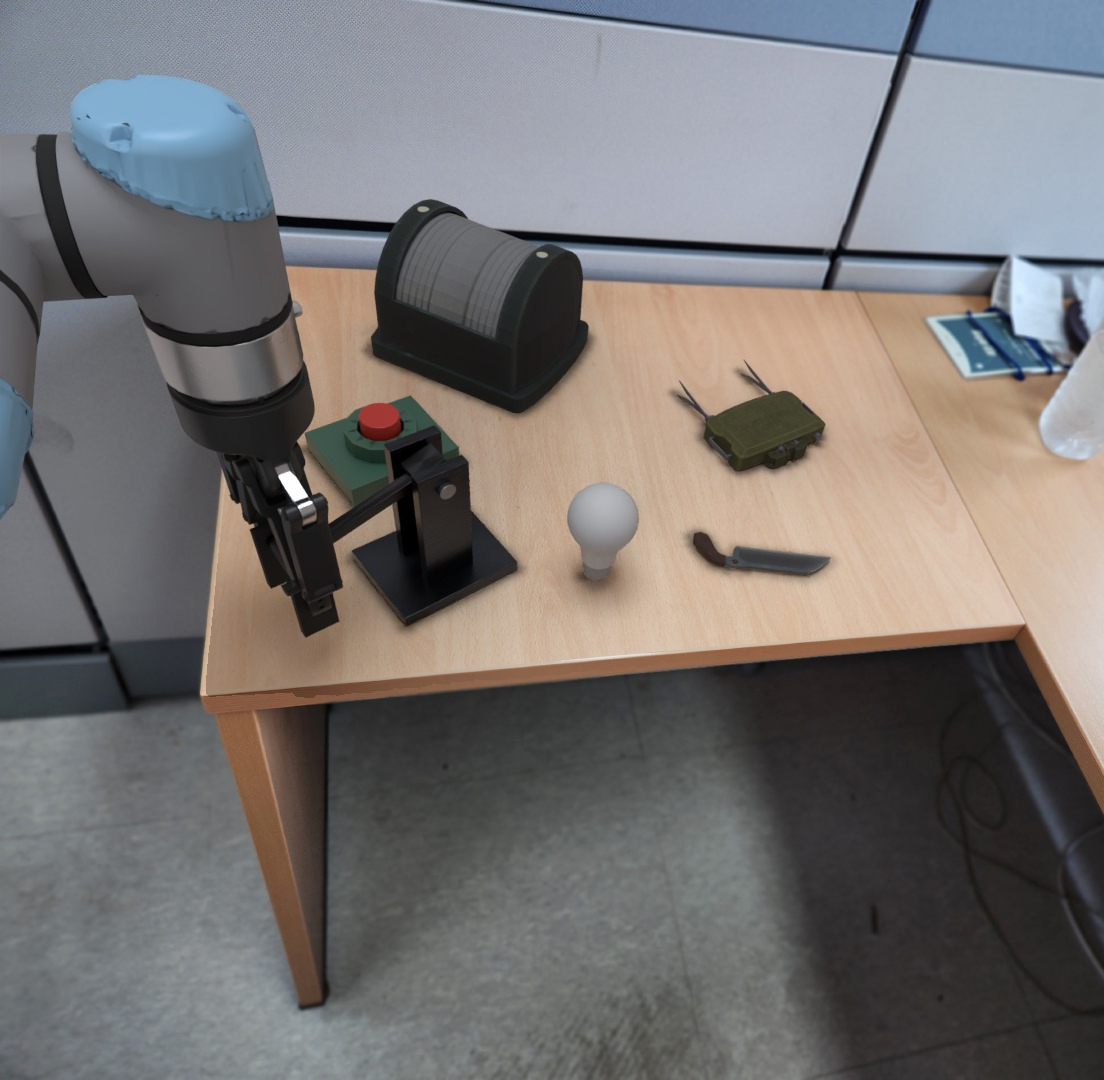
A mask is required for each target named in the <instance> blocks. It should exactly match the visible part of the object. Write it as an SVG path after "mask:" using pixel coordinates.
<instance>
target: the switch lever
mask: <svg viewBox="0 0 1104 1080" xmlns="http://www.w3.org/2000/svg"><path fill="white" fill-rule="evenodd" d="M445 461H446V459H445V458H444V457H443V456H442V455H441V454H440V453H439V451H438V450H437V449H436V448H435V447H434V446H433V445H432V444H431V443H430V444H428V445H426V446H425V447H423V448H422V449H420V450H419V451H417V452H416V453H414V454H413V455H411V456H410V457H408V458H407V459H405V460H403V461H402V462H401V464H402V466H403V468H404V469H405V471H406V473H405V474H403V475H402V476H400V477H399V478H397V479H396V480H394V481H393V482H391V483H390V484H388V485H387V486H385V487H384V488H382V489H381V490H379V491H378V492H376V493H375V494H373V495H372V496H370V497H369V498H367V499H366V500H364V501H363V502H361V503H359V504H358V505H356V506H353V507H352V508H350V509H349V510H347V511H346V512H344V513H342V514H341V515H340V516H338V517H337V518H335V519H334V520H332V521H330V522H329V526H330V531H331V535H332V540H333V544H334V545H335V543H337V542H338V541H340V540H341V539H343V538H344V537H346V536H347V535H349V534H350V533H352V532H353V531H355V530H356V529H358V528H359V527H361V526H363V524H366V522H368V521H370V520H371V519H373V518H374V517H376V516H377V515H379V514H380V513H382V512H383V511H385V510H386V509H388V508H389V507H391V506H392V504H393V503H395V502H396V501H398V500H399V499H401V498H402V497H404V496H405V495H407V494H408V493H410V492H411V491H413V490H412V482H411V475H413V474H416V473H418V472H420V471H423V470H425V469H428V468H430V467H433V466H435V465H438V464H440V463H442V462H445ZM266 544H267V545H268V547H269V548H270V550H271V551H272V552H273V554H274V555H275V557H276V558H277V559H278V561H279V562H280V563H281V565H282V566H283V568H284V569H285V570H286V572H287V573H288V571H287V568H286V566H285V563H284V561H283V558H282V555H281V553H280V550H279V548H278V545H277V542H276V540H275V537H274V535H273V533H272V534H271V535H270V536H269V537H268V538H267V540H266ZM288 575H289V574H288Z"/></svg>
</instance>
